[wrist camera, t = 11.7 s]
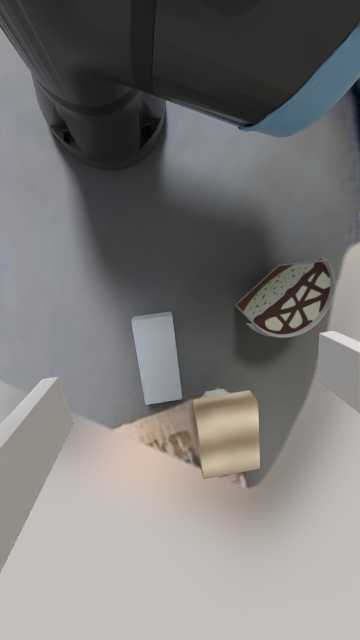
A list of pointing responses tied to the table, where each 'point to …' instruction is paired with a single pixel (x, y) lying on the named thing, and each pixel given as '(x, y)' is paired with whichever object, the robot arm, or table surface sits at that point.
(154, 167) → the table surface
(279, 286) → the food container
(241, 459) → the gold metallic plate
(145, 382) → the light gray rectangular block
